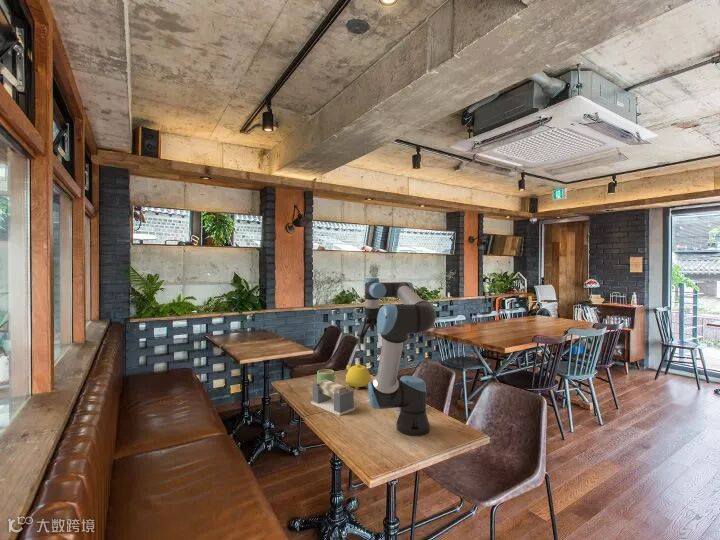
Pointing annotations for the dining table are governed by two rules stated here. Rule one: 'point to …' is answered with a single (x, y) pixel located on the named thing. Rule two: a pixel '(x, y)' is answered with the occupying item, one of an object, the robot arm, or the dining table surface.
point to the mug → (325, 375)
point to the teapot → (358, 376)
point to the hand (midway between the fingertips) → (372, 348)
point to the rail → (330, 388)
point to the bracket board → (334, 401)
